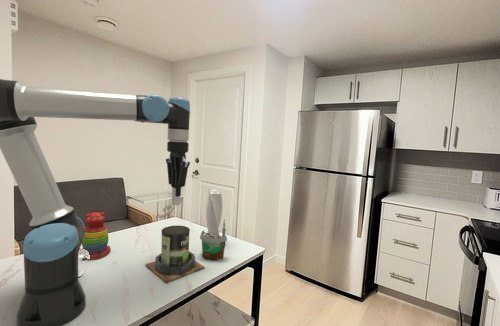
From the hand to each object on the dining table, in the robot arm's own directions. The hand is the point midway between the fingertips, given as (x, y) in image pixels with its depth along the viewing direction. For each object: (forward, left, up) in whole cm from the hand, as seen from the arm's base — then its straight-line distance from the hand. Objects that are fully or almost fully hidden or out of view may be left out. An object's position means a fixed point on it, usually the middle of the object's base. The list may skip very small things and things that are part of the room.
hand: (175, 204), depth 98 cm
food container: (+15, -2, -25) cm, 29 cm away
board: (0, 0, -25) cm, 25 cm away
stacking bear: (-19, +30, -25) cm, 43 cm away
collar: (0, 0, -25) cm, 25 cm away
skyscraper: (+24, +7, -25) cm, 36 cm away
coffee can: (0, 0, -24) cm, 24 cm away
